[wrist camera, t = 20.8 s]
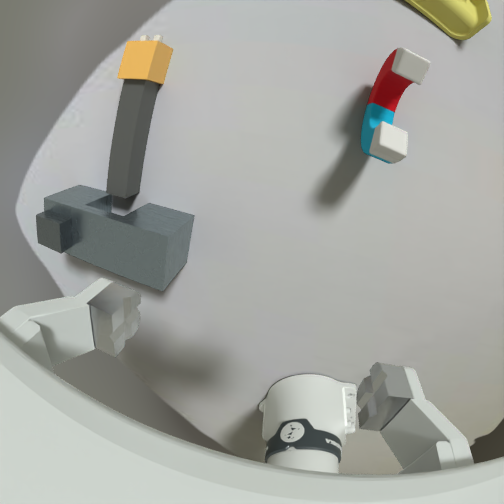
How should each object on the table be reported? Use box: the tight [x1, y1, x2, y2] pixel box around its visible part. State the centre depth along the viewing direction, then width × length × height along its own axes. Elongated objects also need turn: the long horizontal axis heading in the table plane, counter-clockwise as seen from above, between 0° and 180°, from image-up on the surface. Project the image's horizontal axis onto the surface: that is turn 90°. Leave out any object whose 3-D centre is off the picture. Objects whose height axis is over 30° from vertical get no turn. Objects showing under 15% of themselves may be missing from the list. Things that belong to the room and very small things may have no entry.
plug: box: [106, 35, 173, 198], centre depth 30 cm, size 21×4×4 cm, turn 166°
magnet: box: [361, 48, 430, 163], centre depth 23 cm, size 12×3×10 cm, turn 165°
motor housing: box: [36, 185, 195, 291], centre depth 33 cm, size 7×20×10 cm, turn 76°
